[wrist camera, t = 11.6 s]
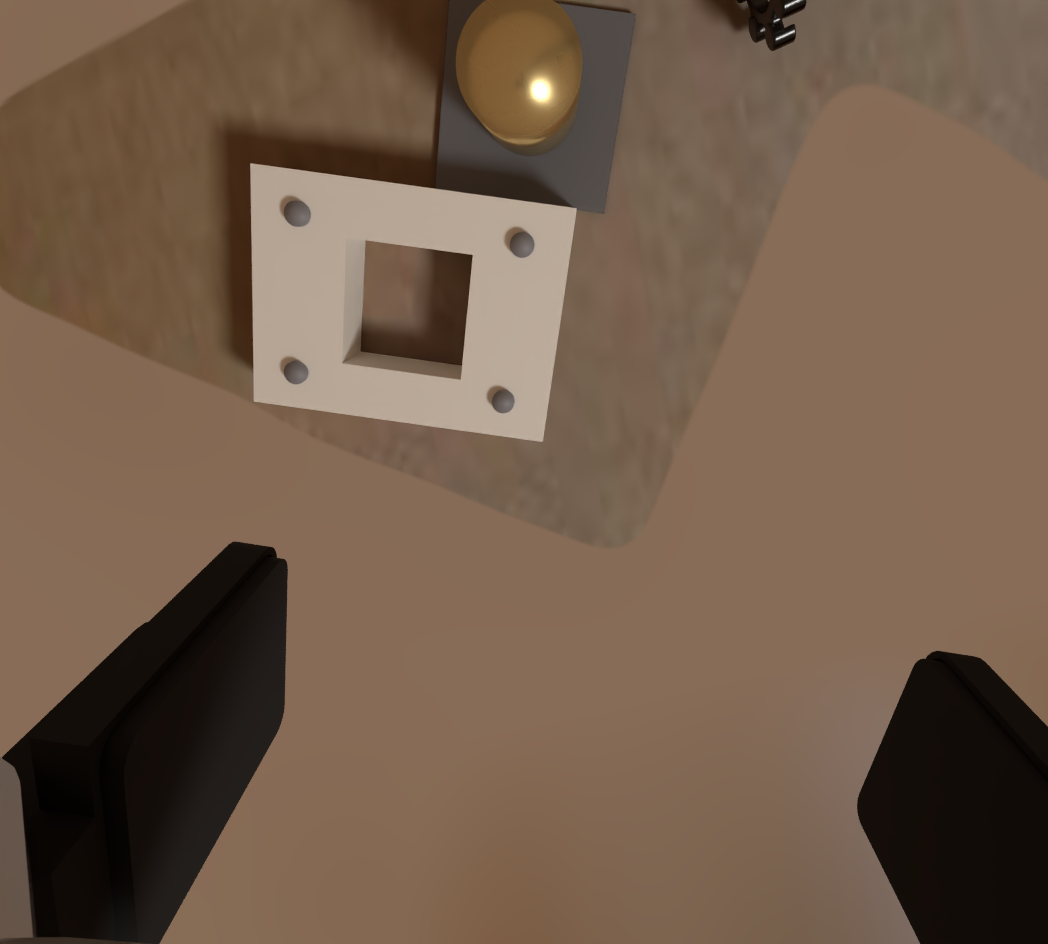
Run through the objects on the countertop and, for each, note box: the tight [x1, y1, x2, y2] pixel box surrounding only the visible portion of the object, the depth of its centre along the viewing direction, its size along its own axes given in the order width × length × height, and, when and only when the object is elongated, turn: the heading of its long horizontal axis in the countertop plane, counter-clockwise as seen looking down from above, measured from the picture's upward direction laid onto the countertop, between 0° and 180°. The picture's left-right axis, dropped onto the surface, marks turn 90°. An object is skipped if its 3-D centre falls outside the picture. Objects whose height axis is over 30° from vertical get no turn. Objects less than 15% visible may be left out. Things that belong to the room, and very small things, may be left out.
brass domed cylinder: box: [456, 0, 583, 156], centre depth 29 cm, size 5×5×9 cm
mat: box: [435, 0, 636, 213], centre depth 34 cm, size 9×9×1 cm
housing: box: [250, 163, 577, 442], centre depth 36 cm, size 16×12×4 cm
